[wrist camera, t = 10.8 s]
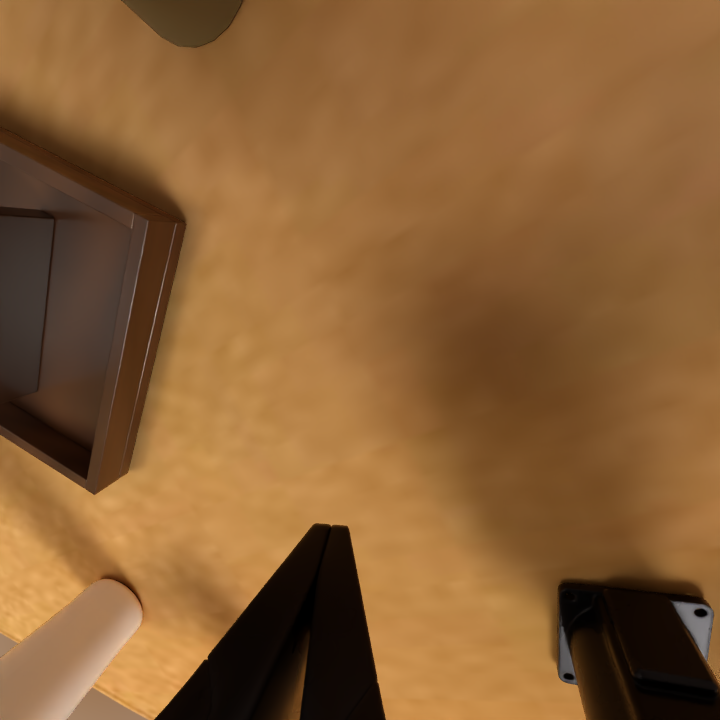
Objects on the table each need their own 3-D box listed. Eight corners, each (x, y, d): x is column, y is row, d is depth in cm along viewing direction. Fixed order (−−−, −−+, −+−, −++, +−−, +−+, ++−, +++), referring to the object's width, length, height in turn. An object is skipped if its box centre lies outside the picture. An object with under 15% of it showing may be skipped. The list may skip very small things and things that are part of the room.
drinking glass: (118, 557, 30) (-187, 828, 16) (168, 623, 30) (-82, 938, 17) (74, 579, 32) (-222, 829, 18) (122, 640, 33) (-130, 925, 19)
